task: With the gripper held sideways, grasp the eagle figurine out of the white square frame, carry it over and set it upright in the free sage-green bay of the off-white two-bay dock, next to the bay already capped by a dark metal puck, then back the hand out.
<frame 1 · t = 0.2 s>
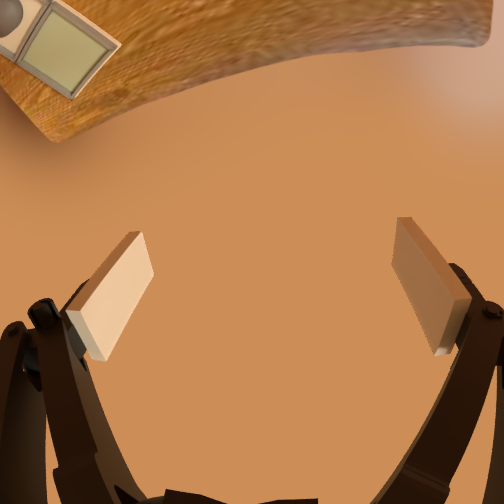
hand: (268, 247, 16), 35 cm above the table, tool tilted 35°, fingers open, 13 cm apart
dock: (37, 28, 29), on the table
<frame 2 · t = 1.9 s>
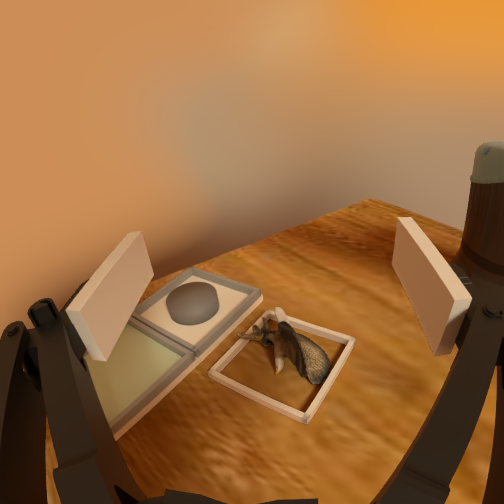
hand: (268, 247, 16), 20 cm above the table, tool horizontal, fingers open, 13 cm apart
dock: (161, 342, 38), on the table
white square frame: (284, 362, 34), on the table
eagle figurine: (290, 365, 34), on the table
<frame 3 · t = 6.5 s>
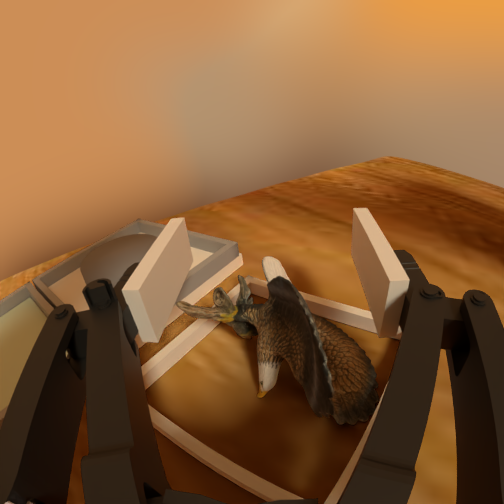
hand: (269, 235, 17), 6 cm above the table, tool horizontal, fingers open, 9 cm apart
dock: (66, 329, 20), on the table
white square frame: (277, 377, 16), on the table
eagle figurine: (292, 378, 16), on the table, touching gripper, white square frame
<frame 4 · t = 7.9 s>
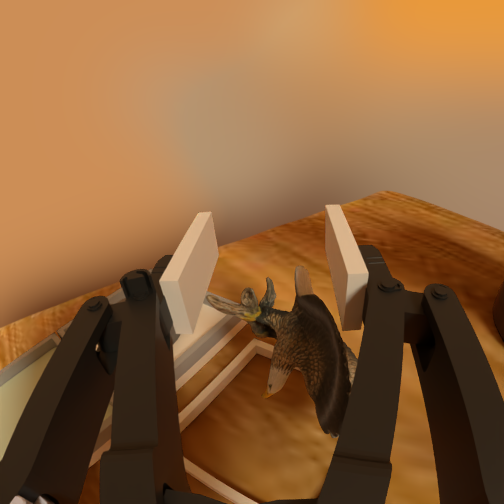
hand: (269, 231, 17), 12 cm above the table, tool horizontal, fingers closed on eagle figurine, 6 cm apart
dock: (95, 380, 23), on the table
white square frame: (278, 430, 19), on the table
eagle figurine: (295, 384, 17), point 5 cm above the table, touching gripper
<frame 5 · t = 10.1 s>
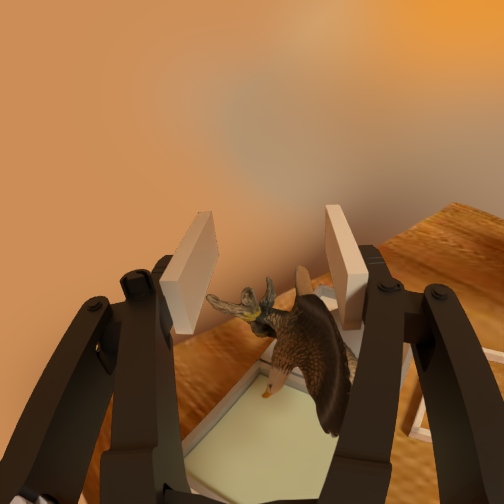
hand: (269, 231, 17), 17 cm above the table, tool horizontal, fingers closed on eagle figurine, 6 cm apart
dock: (321, 398, 26), on the table
white square frame: (478, 398, 21), on the table
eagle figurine: (295, 384, 17), point 10 cm above the table, touching gripper
when the fingers open (9 cm above the table, at t = 12.3 s): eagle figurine stays where it is, resting on dock.
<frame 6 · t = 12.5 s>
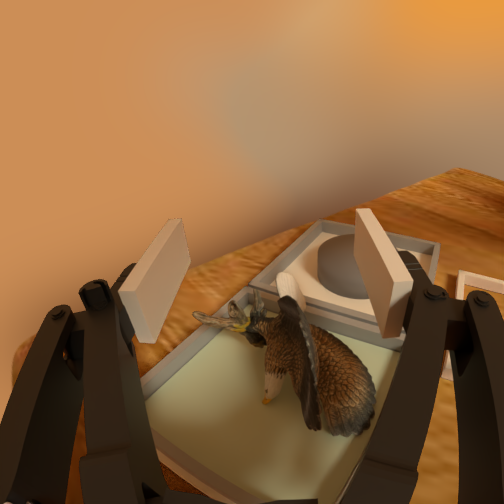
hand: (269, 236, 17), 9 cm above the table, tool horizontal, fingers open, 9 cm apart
dock: (325, 333, 22), on the table
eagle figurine: (297, 388, 17), point 1 cm above the table, touching dock
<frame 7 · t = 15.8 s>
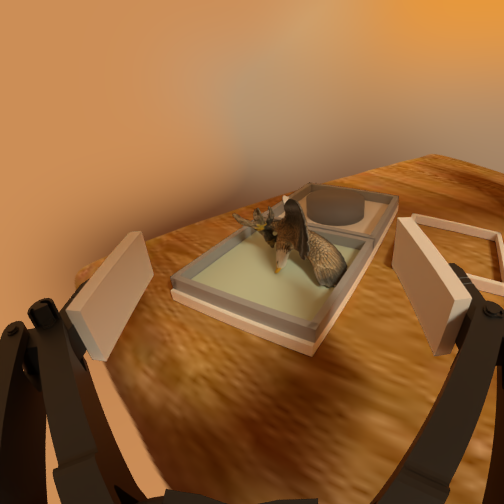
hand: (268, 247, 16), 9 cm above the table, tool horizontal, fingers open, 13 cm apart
dock: (312, 245, 33), on the table
white square frame: (455, 252, 28), on the table
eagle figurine: (296, 267, 28), point 1 cm above the table, touching dock
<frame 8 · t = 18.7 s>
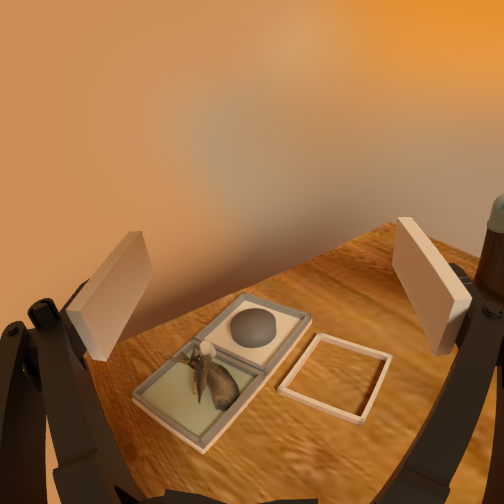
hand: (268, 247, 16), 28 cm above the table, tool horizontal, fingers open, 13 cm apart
dock: (228, 364, 44), on the table
white square frame: (338, 376, 40), on the table
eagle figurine: (209, 389, 39), point 1 cm above the table, touching dock
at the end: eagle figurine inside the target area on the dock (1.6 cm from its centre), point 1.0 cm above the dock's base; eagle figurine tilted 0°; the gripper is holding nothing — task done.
